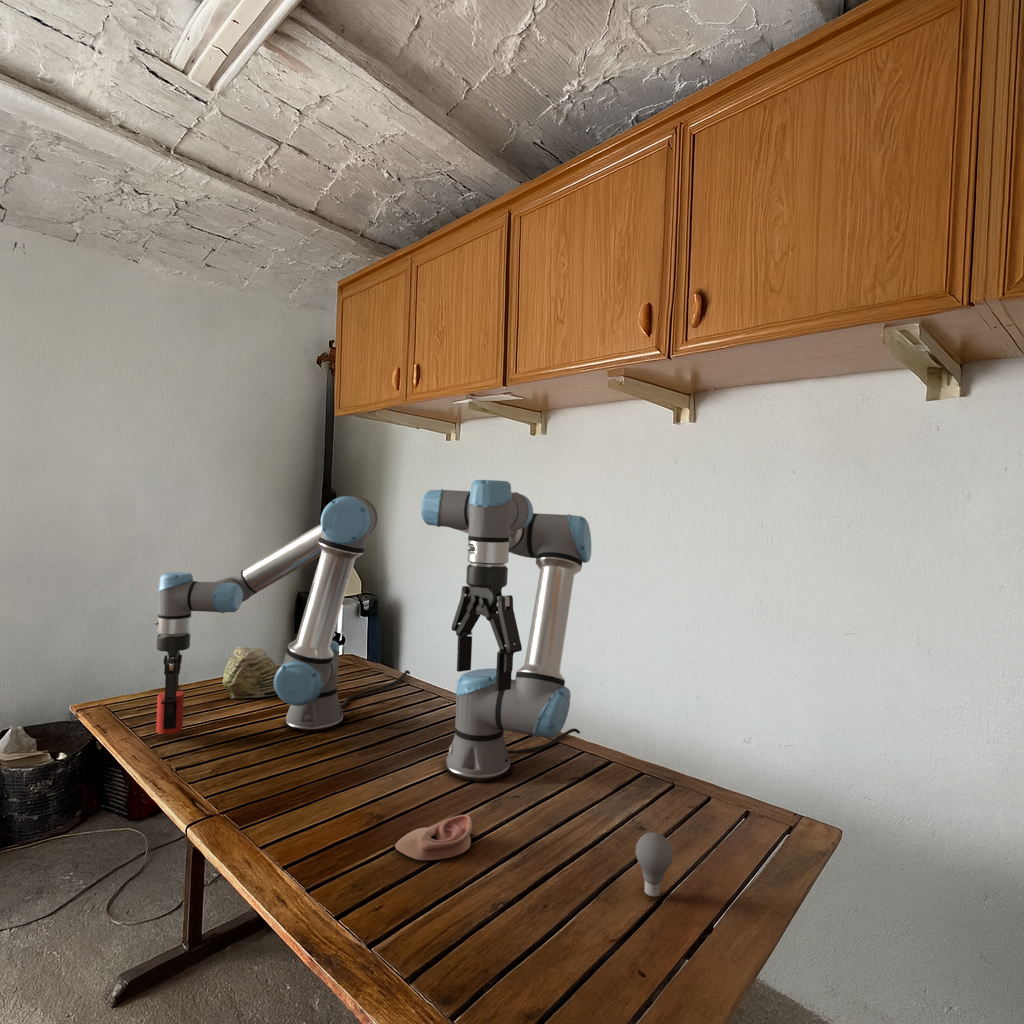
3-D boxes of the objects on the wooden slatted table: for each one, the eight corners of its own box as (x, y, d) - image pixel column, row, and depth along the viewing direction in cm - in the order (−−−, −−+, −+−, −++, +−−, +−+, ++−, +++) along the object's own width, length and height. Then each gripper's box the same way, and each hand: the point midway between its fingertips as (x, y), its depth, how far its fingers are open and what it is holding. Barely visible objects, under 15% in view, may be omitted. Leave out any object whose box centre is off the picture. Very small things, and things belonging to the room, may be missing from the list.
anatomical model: (389, 833, 113) (412, 803, 124) (388, 855, 113) (411, 823, 124) (460, 844, 110) (477, 813, 121) (459, 867, 110) (476, 833, 121)
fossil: (218, 695, 195) (220, 647, 195) (278, 685, 208) (279, 640, 207) (228, 703, 189) (230, 653, 188) (289, 692, 201) (290, 645, 201)
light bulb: (629, 883, 108) (632, 825, 107) (663, 883, 108) (666, 825, 108) (639, 906, 102) (642, 844, 101) (675, 905, 102) (678, 844, 102)
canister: (187, 727, 163) (189, 692, 163) (169, 735, 158) (171, 698, 158) (169, 724, 165) (170, 689, 165) (150, 732, 159) (152, 695, 159)
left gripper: (160, 626, 168) (156, 713, 168) (153, 642, 151) (150, 738, 151) (191, 625, 171) (188, 710, 172) (189, 640, 154) (185, 735, 154)
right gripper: (437, 557, 124) (432, 665, 124) (509, 573, 103) (503, 702, 104) (470, 557, 128) (465, 661, 129) (545, 571, 108) (539, 695, 108)
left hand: (170, 723), depth 161 cm, fingers closed on canister, 6 cm apart
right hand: (482, 679), depth 116 cm, fingers open, 13 cm apart
